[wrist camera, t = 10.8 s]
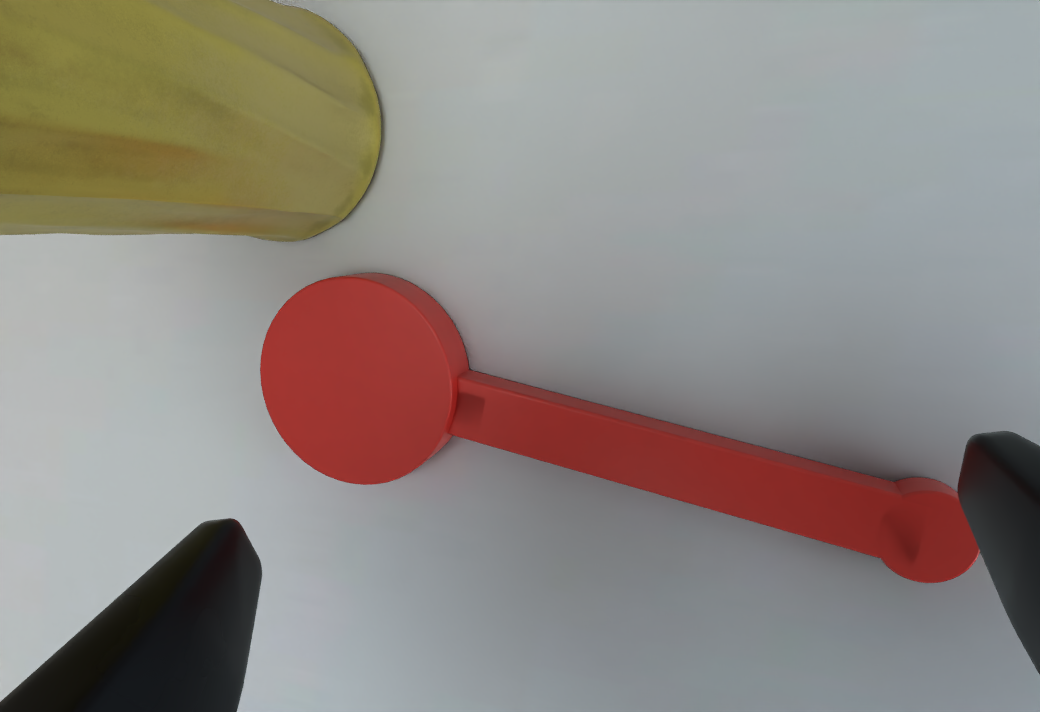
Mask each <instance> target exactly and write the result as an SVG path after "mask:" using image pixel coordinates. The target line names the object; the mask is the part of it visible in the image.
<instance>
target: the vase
mask: <svg viewBox="0 0 1040 712" xmlns="http://www.w3.org/2000/svg"><path fill="white" fill-rule="evenodd" d="M380 143H381V115H380V107H379V103H378V98H377V94H376V91H375V88H374V85H373V83H372V80H371V78H370V76H369V74H368V71H367V69H366V67H365V65H364V63H363V61H362V59H361V57H360V55H359V53H358V51H357V50H356V48H355V47H354V46H353V45H352V43H351V42H350V41H349V40H348V39H347V38H346V37H345V36H344V35H343V34H342V33H341V32H340V31H339V30H338V29H337V28H335V27H334V26H333V25H332V24H330V23H329V22H328V21H326V20H325V19H323V18H322V17H320V16H318V15H316V14H314V13H313V12H311V11H308V10H305V9H302V8H299V7H293V6H286V5H281V4H278V3H275V2H273V1H270V0H0V235H22V234H50V233H70V234H89V235H144V234H195V233H197V234H218V235H246V236H251V237H255V238H259V239H264V240H271V241H281V242H293V241H299V240H305V239H307V238H310V237H312V236H315V235H317V234H319V233H321V232H323V231H325V230H327V229H329V228H330V227H332V226H334V225H335V224H337V223H339V222H340V221H341V220H343V219H344V218H345V217H346V216H347V215H348V214H349V213H350V212H351V211H352V210H353V208H354V207H355V206H356V204H357V203H358V202H359V200H360V199H361V197H362V196H363V194H364V193H365V191H366V190H367V187H368V185H369V183H370V181H371V179H372V176H373V174H374V171H375V167H376V164H377V160H378V156H379V150H380Z"/></svg>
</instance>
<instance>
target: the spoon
mask: <svg viewBox="0 0 1040 712" xmlns="http://www.w3.org/2000/svg"><path fill="white" fill-rule="evenodd" d="M260 374H261V386H262V391H263V396H264V400H265V403H266V407H267V410H268V412H269V414H270V417H271V419H272V422H273V423H274V425H275V427H276V429H277V430H278V432H279V434H280V435H281V437H282V438H283V439H284V441H285V442H286V444H287V445H288V446H289V447H290V448H291V449H292V450H293V452H294V453H295V454H296V455H297V456H299V457H300V458H301V459H302V460H303V461H304V462H305V463H307V464H308V465H310V466H311V467H312V468H314V469H315V470H317V471H319V472H321V473H323V474H325V475H326V476H329V477H331V478H334V479H337V480H340V481H344V482H348V483H353V484H363V485H367V484H380V483H386V482H390V481H393V480H396V479H399V478H401V477H403V476H405V475H407V474H409V473H411V472H412V471H413V470H415V469H416V468H418V467H419V466H420V465H422V464H423V463H424V462H425V461H427V460H428V459H429V458H431V457H432V456H433V455H434V454H436V453H437V452H438V451H439V450H440V449H441V448H442V447H443V446H444V445H446V444H447V442H448V441H449V440H450V439H451V437H452V436H453V435H454V436H457V437H461V438H464V439H468V440H471V441H475V442H478V443H482V444H485V445H489V446H492V447H496V448H499V449H503V450H506V451H510V452H513V453H517V454H520V455H523V456H527V457H530V458H534V459H537V460H541V461H544V462H548V463H551V464H555V465H558V466H562V467H565V468H569V469H572V470H576V471H579V472H583V473H586V474H590V475H593V476H596V477H600V478H603V479H607V480H610V481H614V482H617V483H621V484H624V485H628V486H631V487H635V488H638V489H642V490H645V491H649V492H652V493H656V494H659V495H663V496H666V497H670V498H673V499H676V500H680V501H683V502H687V503H690V504H694V505H697V506H701V507H704V508H708V509H711V510H715V511H718V512H722V513H725V514H729V515H732V516H736V517H739V518H743V519H746V520H749V521H753V522H756V523H760V524H763V525H767V526H770V527H774V528H777V529H781V530H784V531H788V532H791V533H795V534H798V535H802V536H805V537H809V538H812V539H816V540H819V541H823V542H826V543H829V544H833V545H836V546H840V547H843V548H847V549H850V550H854V551H857V552H861V553H864V554H868V555H871V556H875V557H878V558H881V560H882V561H883V562H884V563H885V564H886V566H887V567H888V568H890V569H891V570H892V571H893V572H895V573H897V574H898V575H900V576H902V577H904V578H907V579H909V580H913V581H917V582H923V583H938V582H944V581H948V580H951V579H953V578H955V577H958V576H960V575H961V574H963V573H964V572H965V571H967V570H968V569H969V568H970V567H971V566H972V565H973V564H974V562H975V561H976V559H977V558H978V555H979V553H980V550H979V548H978V545H977V543H976V540H975V538H974V536H973V533H972V531H971V529H970V526H969V524H968V522H967V519H966V517H965V515H964V512H963V510H962V508H961V505H960V502H959V498H958V493H957V492H956V491H955V490H954V489H952V488H951V487H949V486H948V485H946V484H944V483H942V482H940V481H937V480H934V479H929V478H921V477H913V478H906V479H902V480H898V481H896V482H892V481H888V480H884V479H880V478H877V477H873V476H869V475H865V474H862V473H858V472H854V471H850V470H846V469H843V468H839V467H835V466H831V465H827V464H824V463H820V462H816V461H812V460H809V459H805V458H801V457H797V456H793V455H790V454H786V453H782V452H778V451H774V450H771V449H767V448H763V447H759V446H755V445H752V444H748V443H744V442H740V441H737V440H733V439H729V438H725V437H721V436H718V435H714V434H710V433H706V432H702V431H699V430H695V429H691V428H687V427H684V426H680V425H676V424H672V423H668V422H665V421H661V420H657V419H653V418H649V417H646V416H642V415H638V414H634V413H630V412H627V411H623V410H619V409H615V408H612V407H608V406H604V405H600V404H596V403H593V402H589V401H585V400H581V399H577V398H574V397H570V396H566V395H562V394H558V393H555V392H551V391H547V390H543V389H540V388H536V387H532V386H528V385H524V384H521V383H517V382H513V381H509V380H505V379H502V378H498V377H494V376H490V375H487V374H483V373H479V372H475V371H471V370H469V366H468V359H467V355H466V351H465V348H464V345H463V342H462V340H461V337H460V335H459V333H458V331H457V329H456V327H455V325H454V323H453V322H452V320H451V319H450V317H449V316H448V315H447V313H446V312H445V310H444V309H443V308H442V307H441V306H440V305H439V304H438V303H437V302H436V301H435V300H434V299H433V298H432V297H431V296H429V295H428V294H427V293H426V292H425V291H423V290H422V289H420V288H418V287H417V286H415V285H414V284H412V283H410V282H407V281H405V280H403V279H401V278H397V277H394V276H391V275H386V274H380V273H360V274H352V275H346V276H339V277H332V278H327V279H324V280H320V281H317V282H315V283H313V284H310V285H308V286H306V287H305V288H303V289H302V290H300V291H298V292H297V293H296V294H294V295H293V296H292V297H291V298H290V299H289V300H288V301H287V302H286V303H285V304H284V305H283V306H282V308H281V309H280V310H279V311H278V313H277V314H276V316H275V318H274V319H273V321H272V323H271V325H270V327H269V329H268V332H267V334H266V337H265V341H264V344H263V349H262V355H261V367H260Z"/></svg>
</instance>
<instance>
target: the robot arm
mask: <svg viewBox="0 0 1040 712" xmlns="http://www.w3.org/2000/svg"><path fill="white" fill-rule="evenodd" d="M958 498H959V502H960V505H961V508H962V510H963V512H964V515H965V517H966V519H967V522H968V524H969V526H970V529H971V531H972V533H973V536H974V538H975V540H976V543H977V545H978V548H979V550H980V552H981V555H982V557H983V559H984V562H985V564H986V566H987V569H988V571H989V573H990V576H991V578H992V580H993V583H994V585H995V587H996V590H997V592H998V594H999V597H1000V599H1001V602H1002V604H1003V606H1004V608H1005V610H1006V613H1007V615H1008V617H1009V619H1010V621H1011V623H1012V625H1013V627H1014V629H1015V631H1016V633H1017V635H1018V637H1019V639H1020V640H1021V642H1022V644H1023V646H1024V648H1025V650H1026V651H1027V653H1028V655H1029V657H1030V658H1031V660H1032V662H1033V664H1034V665H1035V667H1036V669H1037V671H1038V672H1039V674H1040V446H1039V445H1037V444H1035V443H1033V442H1031V441H1029V440H1027V439H1025V438H1023V437H1021V436H1020V435H1018V434H1015V433H1013V432H1009V431H1000V432H991V433H982V434H976V435H973V436H972V437H970V439H969V440H968V442H967V445H966V449H965V453H964V458H963V463H962V467H961V472H960V477H959V481H958ZM261 579H262V567H261V562H260V559H259V557H258V555H257V553H256V551H255V550H254V548H253V546H252V544H251V542H250V540H249V539H248V537H247V535H246V533H245V531H244V529H243V527H242V526H241V524H240V523H239V522H238V521H237V520H235V519H231V518H229V519H220V520H211V521H206V522H203V523H201V524H200V525H199V526H198V527H196V528H195V529H194V530H193V531H192V532H191V533H190V534H189V535H187V536H186V537H185V538H184V539H183V540H182V541H181V542H180V543H178V544H177V545H176V546H175V547H174V548H173V549H172V550H171V551H169V552H168V553H167V554H166V555H165V556H164V557H163V558H162V559H160V560H159V561H158V562H157V563H156V564H155V565H154V566H153V567H151V568H150V569H149V570H148V571H147V572H146V573H145V574H144V575H142V576H141V577H140V578H139V579H138V580H137V581H136V582H135V583H133V584H132V585H131V586H130V587H129V588H128V589H127V590H126V591H124V592H123V593H122V594H121V595H120V596H119V597H118V598H117V599H115V600H114V601H113V602H112V603H111V604H110V605H109V606H108V607H106V608H105V609H104V610H103V611H102V612H101V613H100V614H99V615H97V616H96V617H95V618H94V619H93V620H92V621H91V622H90V623H89V624H87V625H86V626H85V627H84V628H83V629H82V630H81V631H80V632H78V633H77V634H76V635H75V636H74V637H73V638H72V639H71V640H69V641H68V642H67V643H66V644H65V645H64V646H63V647H62V648H60V649H59V650H58V651H57V652H56V653H55V654H54V655H53V656H51V657H50V658H49V659H48V660H47V661H46V662H45V663H44V664H42V665H41V666H40V667H39V668H38V669H37V670H36V671H35V672H33V673H32V674H31V675H30V676H29V677H28V678H27V679H26V680H24V681H23V682H22V683H21V684H20V685H19V686H18V687H17V688H15V689H14V690H13V691H12V692H11V693H10V694H9V695H8V696H6V697H5V698H4V699H3V700H2V701H1V702H0V712H237V708H238V704H239V700H240V696H241V693H242V688H243V683H244V678H245V673H246V668H247V662H248V656H249V650H250V644H251V639H252V633H253V627H254V621H255V615H256V609H257V603H258V597H259V591H260V585H261Z"/></svg>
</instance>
